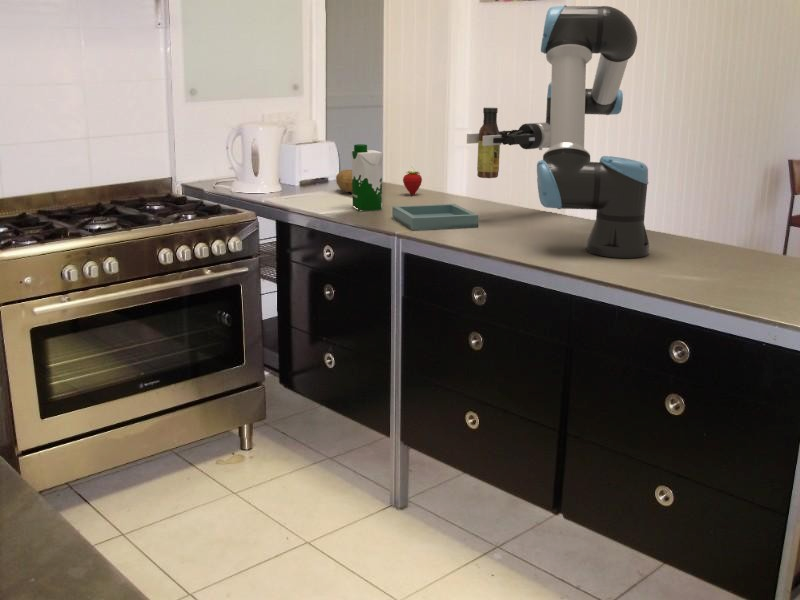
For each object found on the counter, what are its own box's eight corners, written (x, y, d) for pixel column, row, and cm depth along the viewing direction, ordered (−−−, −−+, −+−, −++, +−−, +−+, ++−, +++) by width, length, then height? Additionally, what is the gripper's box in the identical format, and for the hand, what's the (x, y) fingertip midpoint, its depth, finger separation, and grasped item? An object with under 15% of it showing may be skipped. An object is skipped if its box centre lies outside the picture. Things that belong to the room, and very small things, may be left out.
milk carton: (349, 207, 276) (348, 143, 271) (375, 205, 280) (376, 143, 274) (358, 211, 268) (357, 146, 263) (385, 210, 272) (385, 145, 266)
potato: (353, 188, 313) (353, 166, 311) (373, 194, 302) (373, 171, 300) (329, 191, 308) (329, 168, 306) (349, 196, 297) (349, 173, 295)
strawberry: (398, 195, 299) (399, 166, 297) (412, 193, 305) (412, 164, 302) (412, 197, 296) (412, 168, 293) (425, 195, 302) (426, 166, 299)
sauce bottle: (497, 179, 248) (500, 108, 243) (475, 178, 250) (478, 108, 244) (499, 176, 255) (502, 107, 249) (478, 175, 256) (481, 106, 250)
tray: (478, 227, 247) (478, 215, 246) (412, 230, 241) (412, 218, 240) (453, 215, 265) (454, 203, 264) (392, 218, 259) (392, 206, 258)
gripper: (556, 151, 253) (497, 156, 240) (511, 145, 268) (453, 149, 255) (558, 125, 251) (498, 128, 238) (513, 121, 266) (454, 123, 253)
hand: (475, 139), depth 246 cm, fingers closed on sauce bottle, 6 cm apart
